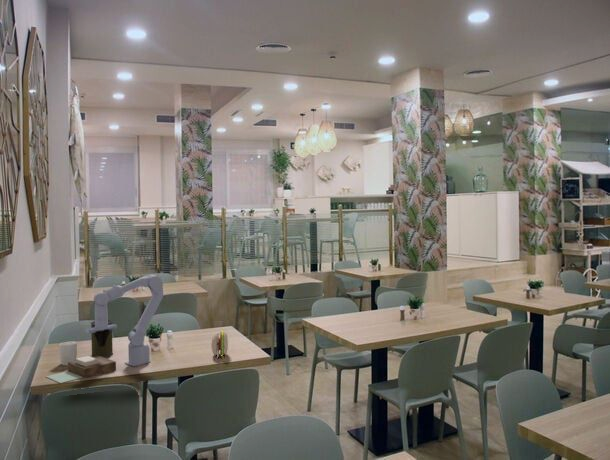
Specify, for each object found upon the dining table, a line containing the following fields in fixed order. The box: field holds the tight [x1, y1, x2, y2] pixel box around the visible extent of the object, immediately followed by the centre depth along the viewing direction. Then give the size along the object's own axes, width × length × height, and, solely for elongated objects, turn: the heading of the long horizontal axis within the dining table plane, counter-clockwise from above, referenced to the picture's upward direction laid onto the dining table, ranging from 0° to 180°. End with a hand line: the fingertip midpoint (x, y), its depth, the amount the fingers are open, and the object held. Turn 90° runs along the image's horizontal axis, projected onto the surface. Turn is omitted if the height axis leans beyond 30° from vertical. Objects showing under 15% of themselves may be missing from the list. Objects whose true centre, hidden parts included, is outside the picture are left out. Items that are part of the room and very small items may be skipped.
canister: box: [90, 319, 114, 358], centre depth 267 cm, size 11×10×20 cm
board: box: [67, 356, 117, 379], centre depth 241 cm, size 15×16×4 cm
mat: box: [45, 370, 84, 384], centre depth 231 cm, size 10×14×1 cm
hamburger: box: [211, 329, 229, 359], centre depth 266 cm, size 12×8×12 cm
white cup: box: [59, 340, 78, 366], centre depth 253 cm, size 8×8×10 cm
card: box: [76, 355, 98, 367], centre depth 239 cm, size 6×9×2 cm, turn 50°
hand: (101, 346), depth 245 cm, fingers closed
